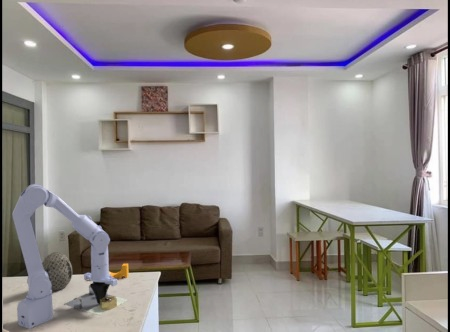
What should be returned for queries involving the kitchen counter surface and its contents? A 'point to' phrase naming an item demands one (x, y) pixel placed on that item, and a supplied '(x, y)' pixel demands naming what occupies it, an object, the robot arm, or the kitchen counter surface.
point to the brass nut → (108, 302)
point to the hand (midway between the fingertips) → (101, 302)
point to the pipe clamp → (121, 272)
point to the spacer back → (91, 291)
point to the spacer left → (77, 303)
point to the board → (93, 304)
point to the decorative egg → (58, 270)
